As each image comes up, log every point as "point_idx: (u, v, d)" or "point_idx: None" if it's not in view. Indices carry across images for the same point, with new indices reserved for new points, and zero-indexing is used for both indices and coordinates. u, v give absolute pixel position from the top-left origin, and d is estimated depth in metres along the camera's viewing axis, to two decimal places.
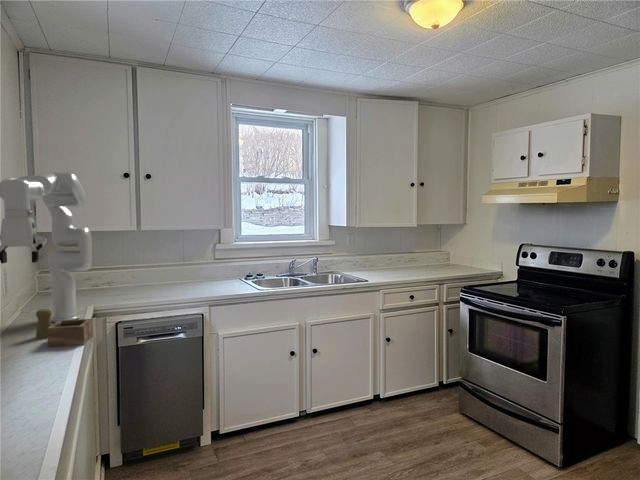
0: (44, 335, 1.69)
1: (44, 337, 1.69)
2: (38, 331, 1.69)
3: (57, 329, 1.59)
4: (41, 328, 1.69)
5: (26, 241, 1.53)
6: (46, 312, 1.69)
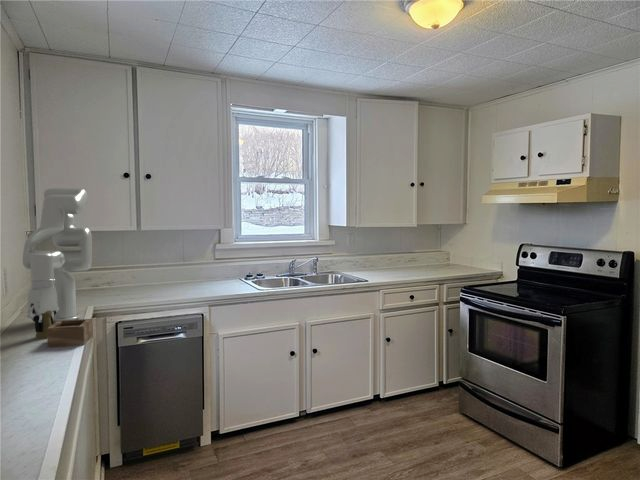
0: (44, 335, 1.69)
1: (44, 337, 1.69)
2: None
3: (57, 329, 1.59)
4: None
5: (55, 306, 1.73)
6: (46, 312, 1.69)
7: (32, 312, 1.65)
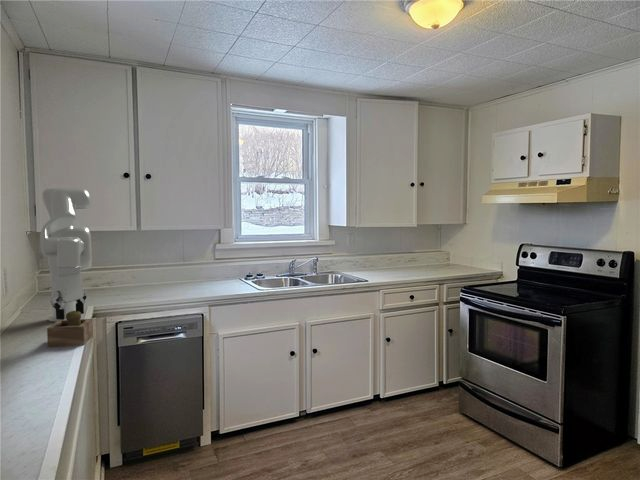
0: None
1: None
2: None
3: (57, 329, 1.59)
4: None
5: (81, 294, 1.67)
6: (76, 315, 1.65)
7: (56, 297, 1.58)
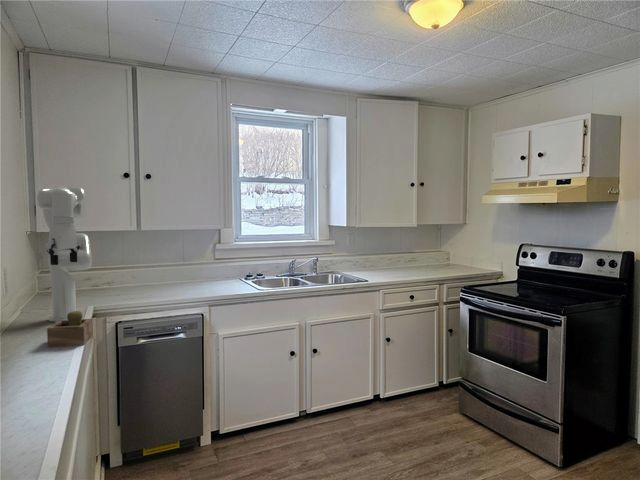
0: None
1: None
2: None
3: (57, 329, 1.59)
4: None
5: (74, 244, 1.79)
6: (77, 315, 1.66)
7: (50, 243, 1.69)
